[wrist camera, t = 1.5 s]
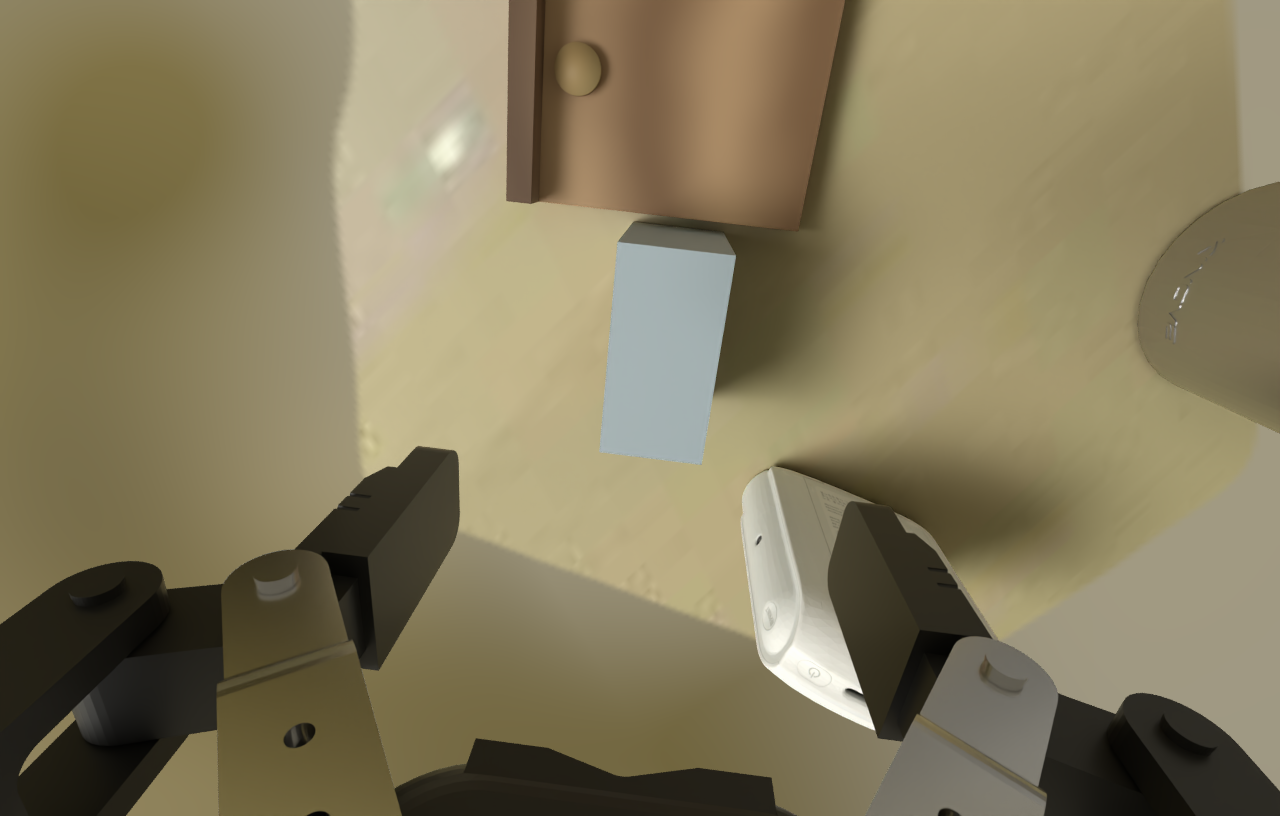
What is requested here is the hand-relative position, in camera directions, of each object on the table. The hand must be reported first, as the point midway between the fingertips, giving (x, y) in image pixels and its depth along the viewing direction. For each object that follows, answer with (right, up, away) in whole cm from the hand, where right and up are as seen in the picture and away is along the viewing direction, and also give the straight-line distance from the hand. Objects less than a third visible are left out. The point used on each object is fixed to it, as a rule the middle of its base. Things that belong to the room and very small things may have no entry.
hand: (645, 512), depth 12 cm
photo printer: (+10, -4, +19) cm, 22 cm away
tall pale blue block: (+1, +7, +16) cm, 17 cm away
